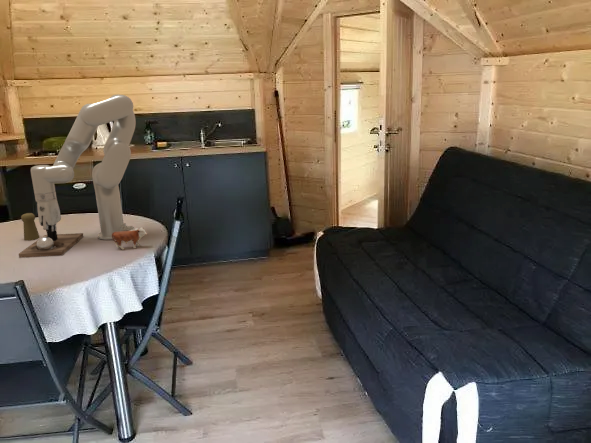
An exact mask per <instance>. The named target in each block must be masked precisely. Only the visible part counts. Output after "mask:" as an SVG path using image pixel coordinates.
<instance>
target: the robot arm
mask: <svg viewBox="0 0 591 443" xmlns="http://www.w3.org/2000/svg"><path fill="white" fill-rule="evenodd" d="M136 120H137V119H136V114H135V112H134V102H133V100H132V99H131V98H130V97H129V96H127V95H125V94H113V95H111V96H110V97H109V98H107V99H105V100H101V101H98V102H95V103H86V104H84V105H82V107H81V109H80V110H79V112H78V113H77V116H76V118H75V121H74V123H73V124H72V127H71V128H70V131H69V133H68V134H67V137H66V138H65V140H64V143H63V145H62V146H61V148H60V150H59V151H58V152H59V153H58V154H57V157H56V158H55V161H54V163H53V165H49V164H39V165H34V166H32V167H30V176H31V181H32V187H33V188H32V189H33V193H34V199H35V202H36V203H37V204H36V206H37V214H38V215H37V216H38V223H39V225H40V226H41V227H42V229H43V230H45V232H46V235H47V237H50V238H51V239H52V240H53V241H56V240H57V239H58V237H57V234H58V233H57V232H58V231H57V224H58V223H59V222H60V221H61V220H62V216H61V210H60V206H59V203H58V198H57V192H56V185H55V184H66V183H69V182H71V181H72V180H73V179H74V178H75V171H74V168H75V166H76V164H77V162H78V160H79V158H80V156H81V155H82V154H83V153H84V151H86V150H87V149H88V147H90V145H91V143H92V140H93V138H94V136H95V134H96V133H97V130H98V128H99V126H102V125H105V124H109V123H112V122H113V124H112V127H111V131H110V133H109V135H108V137H107V140H106V142H105V143H104V146H103V154H104V156H103V158H102V160H101V162H99V163H97V164H96V165H95V166H93V168H92V173H91V177H92V178H91V179H92V183H93V188H94V192H95V193H94V194H95V199H96V206H97V214H98V220H99V228H100V232H99V233H98V234H97V238H98V239H100V240H103V241H104V240H109V241H110V240H113V239H112V234H113V233H114V232H121V231H130V230H134V229H135V226H133V225H127V224H126V222H124V217H123V216H124V214H123V208H122V201H121V200H122V199H121V193H120V192H121V191H120V187H119V186H120V185H119V184H120V182H121V181H122V179H123V177H124V175H125V173H126V170H127V169H128V168H127V167H128V165H129V162H130V160H131V156H132V151H131V148H130V144H131V142H132V138H133V136H134V134H135V133H134V132H135V130H136ZM113 238H114V237H113Z"/></svg>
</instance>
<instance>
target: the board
mask: <svg viewBox="0 0 591 443" xmlns="http://www.w3.org/2000/svg"><path fill="white" fill-rule="evenodd" d="M45 236H46V237H47V234H44V235H42V237H45ZM57 237H58V239H57V240H56V241H53V242H54V246H53V248H52V249H49V250H39V249H38V247H37V241H38V240H39V239H40V238H38V239H36V241H34V242H33V243H31V244H30V245H29V246H28V247H26V248H25V249H23V250H22V251H21V252H19V253H18V257H19V258H36V257H49V256H50V257H57V256H63V255H64V254H66V253H67V252H68V251H69V250H70V249H71V248H72V247H74V246H75V244H77V243H78V242H79V241H80V240H81V239H82V238H83V237H84V233H83V232H78V233H57Z"/></svg>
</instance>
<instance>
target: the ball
mask: <svg viewBox="0 0 591 443" xmlns="http://www.w3.org/2000/svg"><path fill="white" fill-rule="evenodd" d="M38 239H39V240H38ZM38 239H37V240H38V241H37V240H36V241H37V247H38V249H39V250H49V249H53V248H54V247H53V246H54V242H53V240H52V239H51V238H50V237H46V236H45V237H43V236H40V238H38Z"/></svg>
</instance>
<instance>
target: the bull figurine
mask: <svg viewBox="0 0 591 443" xmlns="http://www.w3.org/2000/svg"><path fill="white" fill-rule="evenodd" d="M146 235H148V233H147V232H146V229H145V228H144V227H140V228H138V227H136V228H134V230H130V231H121V232H114V233H113V234H112V239H111V240H113V241H114V242H113V243H114V244H115V246H116V248H118V249H120V250H122V251H123V250H126V248H125V247H124V246H123V245H122V242H124V243H125V244H128V242H133V244H132V245H133V247H132V248H133V249H137V247H141V244H139V241H140V240H141V239H142V238H143V237H144V236H146ZM113 237H114V238H113ZM136 246H137V247H136Z"/></svg>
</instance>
